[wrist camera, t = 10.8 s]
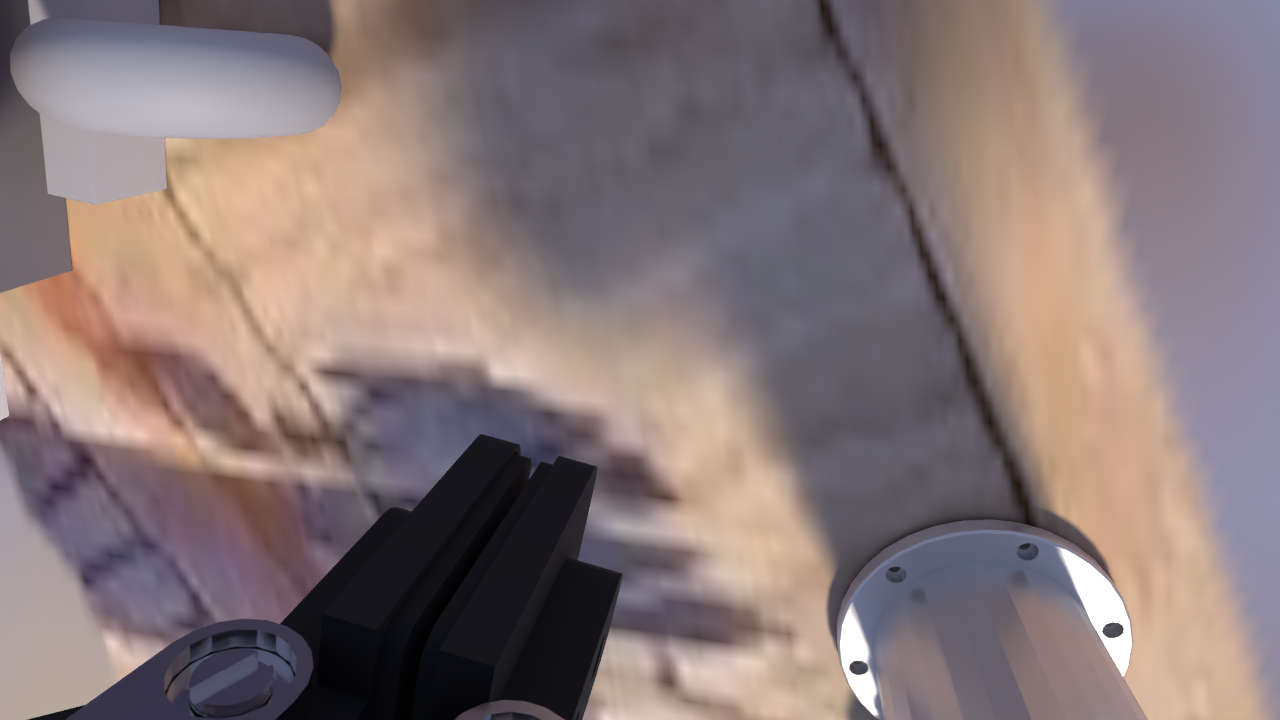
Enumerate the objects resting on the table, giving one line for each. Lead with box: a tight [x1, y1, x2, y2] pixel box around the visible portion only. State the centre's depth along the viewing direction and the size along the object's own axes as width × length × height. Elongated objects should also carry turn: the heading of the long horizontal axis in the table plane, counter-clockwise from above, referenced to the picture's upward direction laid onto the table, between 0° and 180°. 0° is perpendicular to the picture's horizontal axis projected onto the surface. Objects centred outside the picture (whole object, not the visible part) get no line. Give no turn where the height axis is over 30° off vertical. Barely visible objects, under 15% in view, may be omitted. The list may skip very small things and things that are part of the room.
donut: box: [10, 18, 342, 139], centre depth 27 cm, size 10×3×10 cm, turn 86°
